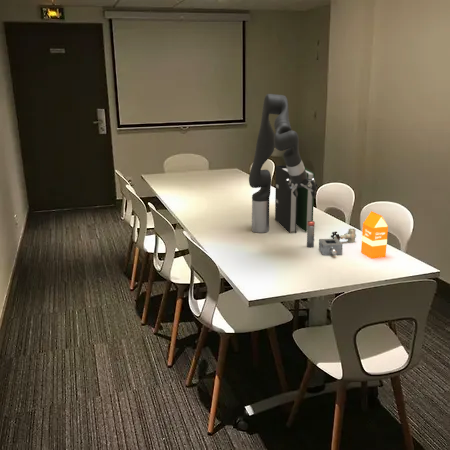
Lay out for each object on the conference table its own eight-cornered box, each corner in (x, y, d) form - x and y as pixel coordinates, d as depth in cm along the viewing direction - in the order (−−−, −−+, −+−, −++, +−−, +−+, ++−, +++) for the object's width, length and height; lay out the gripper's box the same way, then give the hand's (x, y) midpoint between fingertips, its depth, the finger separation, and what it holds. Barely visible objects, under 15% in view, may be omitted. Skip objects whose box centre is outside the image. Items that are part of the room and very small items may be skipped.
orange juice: (371, 258, 221) (374, 216, 216) (360, 252, 229) (363, 211, 224) (386, 256, 223) (389, 215, 218) (375, 250, 232) (378, 210, 226)
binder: (313, 231, 261) (316, 173, 252) (287, 233, 259) (288, 174, 250) (298, 218, 287) (299, 164, 278) (273, 219, 285) (274, 165, 276)
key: (307, 247, 237) (308, 223, 233) (306, 245, 240) (307, 221, 237) (314, 247, 237) (315, 222, 233) (313, 245, 240) (314, 220, 237)
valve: (350, 239, 249) (330, 242, 245) (351, 227, 247) (331, 229, 243) (358, 243, 243) (337, 246, 239) (359, 230, 241) (338, 233, 237)
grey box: (324, 258, 223) (325, 247, 221) (318, 248, 235) (319, 239, 234) (344, 257, 223) (344, 247, 221) (337, 248, 235) (337, 238, 234)
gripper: (313, 163, 217) (321, 190, 227) (284, 164, 224) (293, 190, 235) (309, 175, 213) (317, 201, 223) (279, 175, 220) (288, 201, 230)
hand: (305, 195), depth 229 cm, fingers open, 8 cm apart
